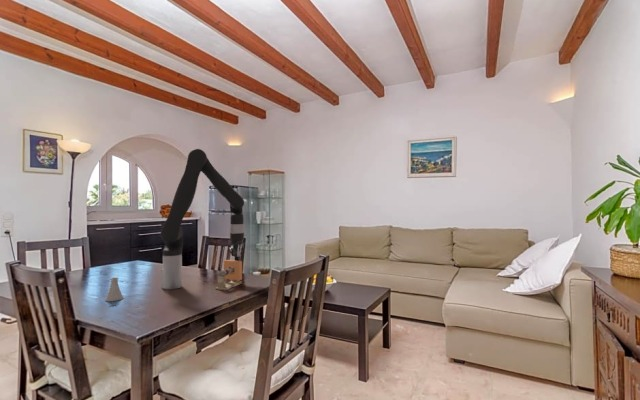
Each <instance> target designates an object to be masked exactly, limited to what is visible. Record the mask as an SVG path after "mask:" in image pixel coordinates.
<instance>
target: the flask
mask: <svg viewBox="0 0 640 400" xmlns="http://www.w3.org/2000/svg"><path fill="white" fill-rule="evenodd" d="M109 280H110V287H109V290H108V292H107V295H106V298H105V301H106V302H116V301H122V299H124V296H123V293H122V291H121V289H120V287H119V281H118V280H119V277H111V278H110V279H109Z"/></svg>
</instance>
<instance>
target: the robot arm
mask: <svg viewBox="0 0 640 400" xmlns="http://www.w3.org/2000/svg"><path fill="white" fill-rule="evenodd" d="M201 173H203V175H204V176H205V177H206V178H207V179H208V180H209V181H210V182H211V184H212V186H213V187H214V188H215V189H216V190H217V192H218V193H220V195H221V196H222V197H223V198H225V200H226V201H228V203H229V210H230V227H229V240H230V242H231V244H230V247H228V251H229V253H230V255H231V256H232V257H234V260H235V261H241V259H240V257H241V256H242V255H243V254H244V251H245V248H246V244H243V241H244V240H245V226H244V215H243V207H244V205H245V200H244V198H243V197H242V196H241V195H240V194H239V193H238V192H237V191H236V190H235V189H234V188H233V186H232V185H231V184H230V183H229V182H228V180H227V179H226V178H224V177H223V176H222V174H221V173H220V172H219V171H217V169H216V168H215V167H214V166H213V164H212V163H211V161H210V160H209V158H208V157H207V153H206V152H205V151H204V150H202V149H200V148H194V149H192V150H190V152H189V153H188V155H187V161H186V165H185V169H184V172H183V175H182V176H181V178H180V181H179V183H178V186H177V187H176V190H175V194H174V197H173V199H172V203H171V206H170V209H169V213H168V216H167V218H166V220H165V222H164V224H163V226H162V228H161V231H160V237H161V240H162V241H163V242H164V246H163V247H164V248H163V249H162V269H161V271H160V273H161V275H160V276H161V277H160V278H161V279H160V280H161V281H160V282H161V283H160V284H161V288H162V289H163V290H175V289H179V288H180V289H181V288H182V286H183V281H182V280H183V256H182V255H183V247H184V231H183V228H182V226H181V225H182V222H183V219H184V217H185V216H186V215H187V212H188V211H189V209H190V207H191V205H192V203H193V201H194V198H195V194H196V191H197V187H198V181H199V177H200V174H201Z"/></svg>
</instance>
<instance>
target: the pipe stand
mask: <svg viewBox="0 0 640 400" xmlns="http://www.w3.org/2000/svg"><path fill="white" fill-rule="evenodd" d="M230 273H234V267H232V268H230V269H226V270H224V269H223V270H221V271H219V272H218V274H217V275H218V276H217V286H216V287H215V288H214V289H215V290H218V291H227V290H229V289H231V288H234V287H237V286H239V285H241V284H243V281H241V280H230V281H228V282H227V281H226V280H227V279H226V276H224V275H228V274H230Z"/></svg>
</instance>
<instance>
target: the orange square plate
mask: <svg viewBox="0 0 640 400" xmlns="http://www.w3.org/2000/svg"><path fill="white" fill-rule="evenodd" d="M233 267H234V273H230V274H228V275H224V276H226V280H230V281H232V280H240V281H241V280H243V260H240V261H235V259H225V260H223V270H226V269H230V268H233Z"/></svg>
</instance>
